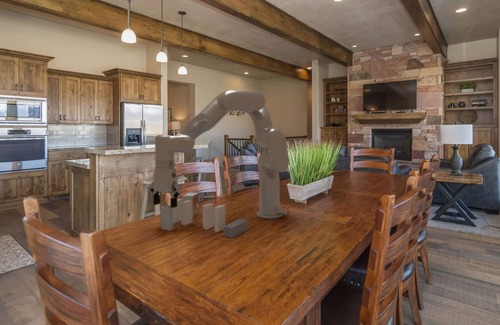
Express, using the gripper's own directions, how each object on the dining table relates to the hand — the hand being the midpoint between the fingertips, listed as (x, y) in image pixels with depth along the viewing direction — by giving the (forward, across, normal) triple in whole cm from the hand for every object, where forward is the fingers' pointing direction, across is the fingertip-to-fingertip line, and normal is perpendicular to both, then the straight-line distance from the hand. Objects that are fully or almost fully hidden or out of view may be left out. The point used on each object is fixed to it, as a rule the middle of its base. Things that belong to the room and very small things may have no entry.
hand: (165, 205), depth 129 cm
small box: (+10, +6, -23) cm, 25 cm away
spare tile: (+10, 0, -1) cm, 10 cm away
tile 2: (+10, -2, -11) cm, 15 cm away
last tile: (+10, -20, -11) cm, 25 cm away
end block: (+10, -28, -11) cm, 32 cm away
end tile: (+10, +4, -11) cm, 15 cm away
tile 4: (+10, -14, -11) cm, 20 cm away
